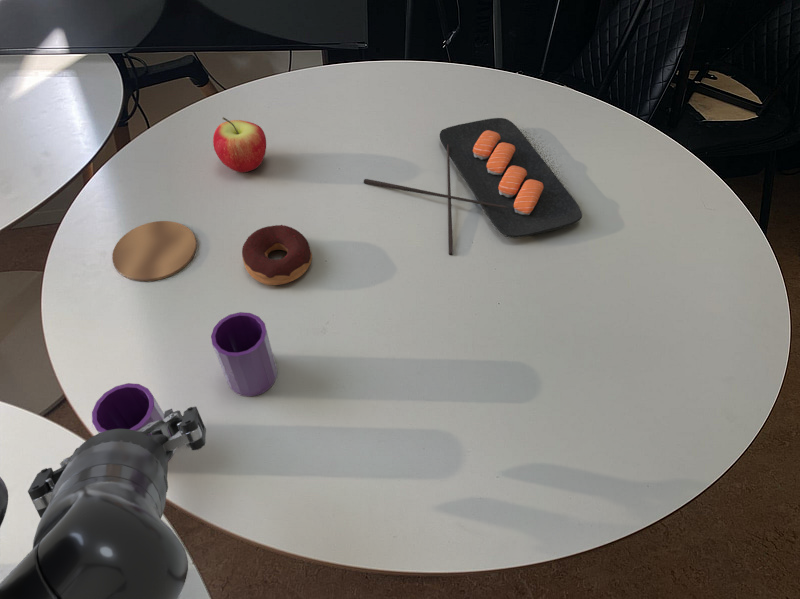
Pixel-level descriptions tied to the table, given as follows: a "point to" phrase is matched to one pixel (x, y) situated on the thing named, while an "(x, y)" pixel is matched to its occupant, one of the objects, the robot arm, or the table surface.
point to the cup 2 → (244, 353)
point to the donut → (283, 268)
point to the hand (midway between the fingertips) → (129, 437)
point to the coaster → (154, 251)
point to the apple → (240, 144)
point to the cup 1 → (126, 409)
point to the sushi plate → (504, 179)
